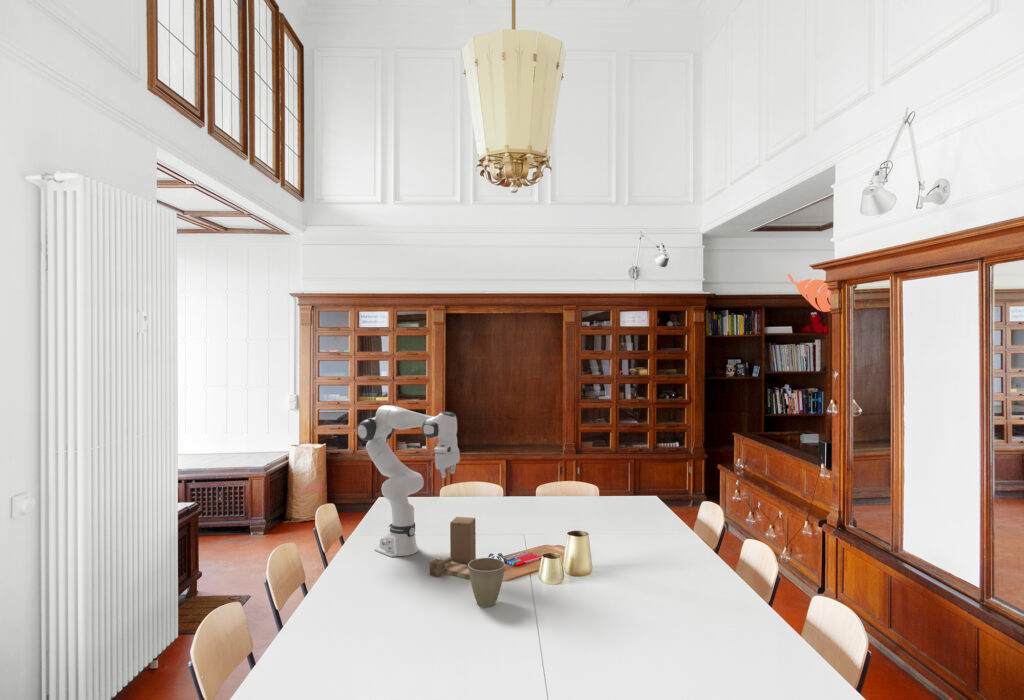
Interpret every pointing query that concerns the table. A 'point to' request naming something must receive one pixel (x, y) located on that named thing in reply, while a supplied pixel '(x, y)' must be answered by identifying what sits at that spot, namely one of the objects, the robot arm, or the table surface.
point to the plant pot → (486, 580)
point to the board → (457, 569)
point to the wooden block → (463, 540)
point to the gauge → (438, 566)
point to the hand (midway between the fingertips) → (448, 475)
